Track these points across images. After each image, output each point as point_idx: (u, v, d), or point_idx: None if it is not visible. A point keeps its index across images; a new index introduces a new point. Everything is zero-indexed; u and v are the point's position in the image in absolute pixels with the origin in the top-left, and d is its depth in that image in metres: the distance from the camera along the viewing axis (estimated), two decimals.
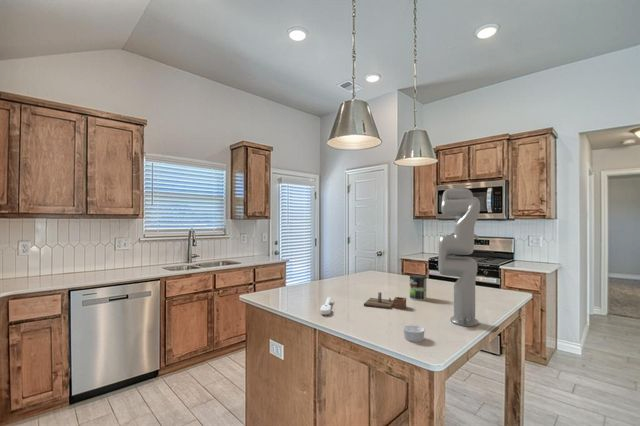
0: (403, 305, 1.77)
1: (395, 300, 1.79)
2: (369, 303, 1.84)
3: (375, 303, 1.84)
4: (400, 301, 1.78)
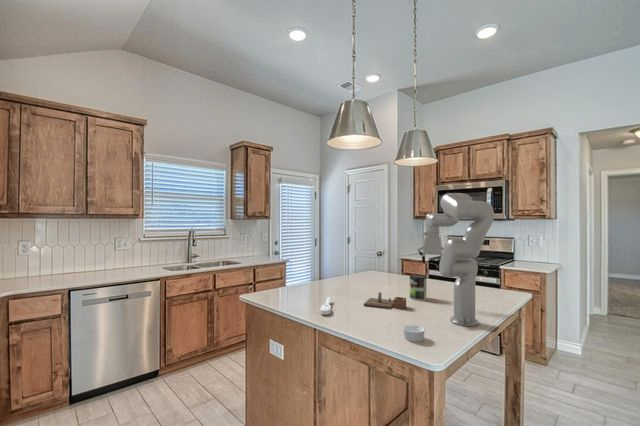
0: (403, 305, 1.77)
1: (395, 300, 1.79)
2: (369, 303, 1.84)
3: (375, 303, 1.84)
4: (400, 301, 1.78)
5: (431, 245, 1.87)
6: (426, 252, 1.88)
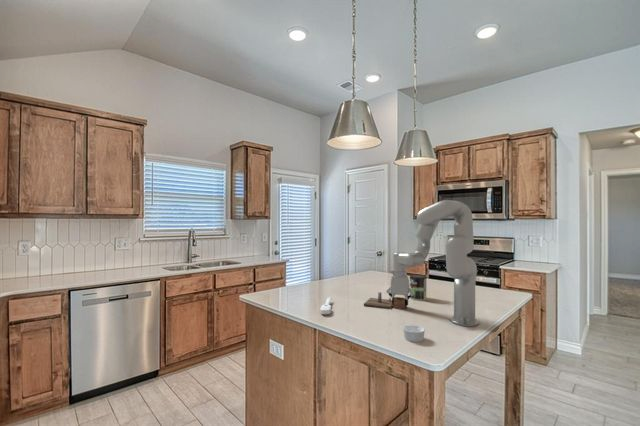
0: (403, 305, 1.77)
1: (395, 300, 1.79)
2: (369, 303, 1.84)
3: (375, 303, 1.84)
4: (400, 301, 1.78)
5: (398, 285, 1.78)
6: (393, 292, 1.79)
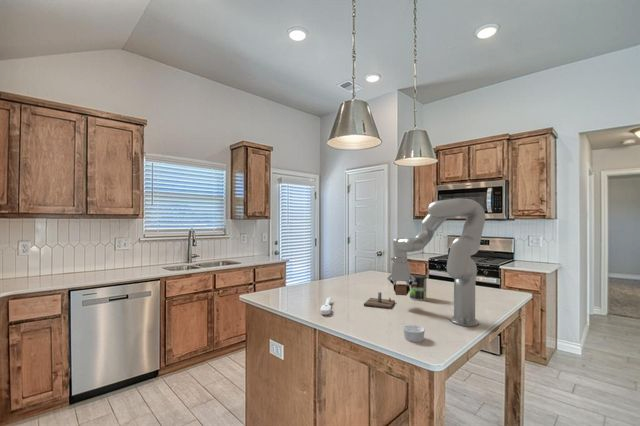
0: (405, 291, 1.76)
1: (397, 286, 1.78)
2: (369, 303, 1.84)
3: (375, 303, 1.84)
4: (402, 287, 1.77)
5: (399, 271, 1.78)
6: (394, 279, 1.79)
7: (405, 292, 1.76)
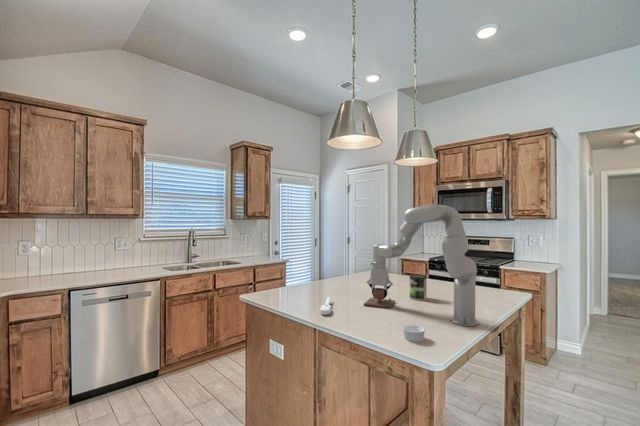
0: (382, 295, 1.84)
1: (375, 290, 1.86)
2: (369, 303, 1.84)
3: (375, 303, 1.84)
4: (379, 291, 1.84)
5: (378, 276, 1.85)
6: (373, 283, 1.86)
7: (382, 296, 1.84)
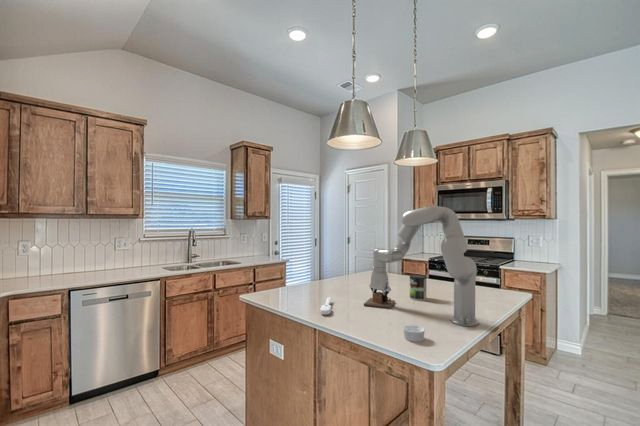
0: (379, 300, 1.83)
1: (373, 294, 1.87)
2: (369, 303, 1.84)
3: (375, 303, 1.84)
4: (377, 296, 1.85)
5: (376, 280, 1.86)
6: (372, 287, 1.88)
7: (380, 301, 1.84)
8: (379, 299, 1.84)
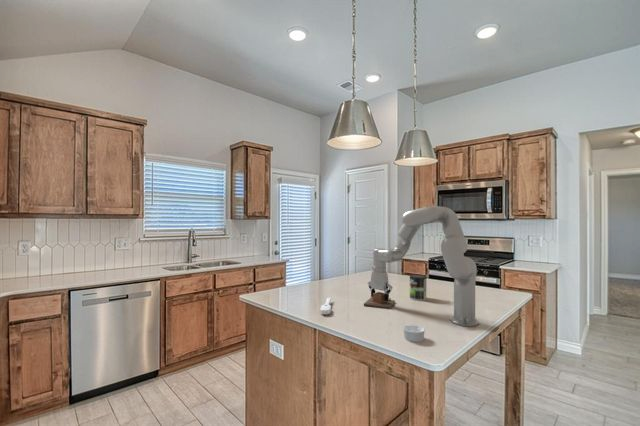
0: (379, 300, 1.83)
1: (374, 294, 1.87)
2: (369, 303, 1.84)
3: (375, 303, 1.84)
4: (377, 296, 1.85)
5: (376, 280, 1.86)
6: (372, 287, 1.88)
7: (380, 301, 1.84)
8: (379, 299, 1.84)
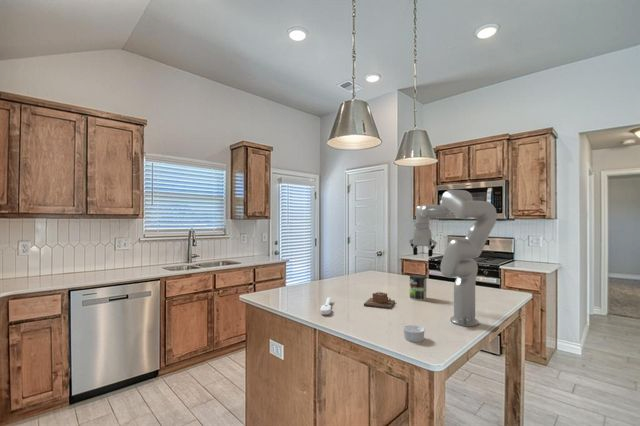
0: (379, 300, 1.83)
1: (374, 294, 1.87)
2: (369, 303, 1.84)
3: (375, 303, 1.84)
4: (377, 296, 1.85)
5: (419, 237, 1.87)
6: (415, 244, 1.89)
7: (380, 301, 1.84)
8: (379, 299, 1.84)
